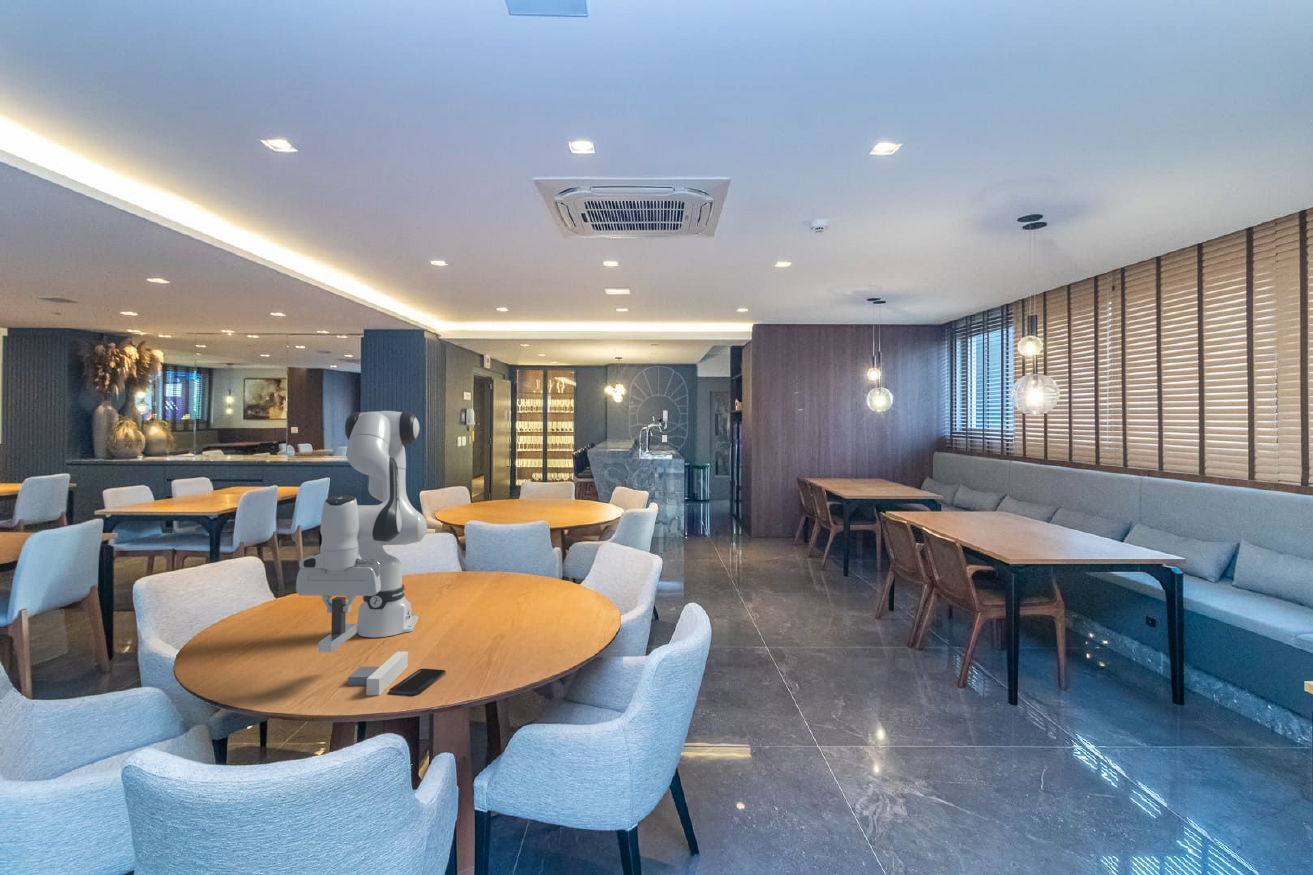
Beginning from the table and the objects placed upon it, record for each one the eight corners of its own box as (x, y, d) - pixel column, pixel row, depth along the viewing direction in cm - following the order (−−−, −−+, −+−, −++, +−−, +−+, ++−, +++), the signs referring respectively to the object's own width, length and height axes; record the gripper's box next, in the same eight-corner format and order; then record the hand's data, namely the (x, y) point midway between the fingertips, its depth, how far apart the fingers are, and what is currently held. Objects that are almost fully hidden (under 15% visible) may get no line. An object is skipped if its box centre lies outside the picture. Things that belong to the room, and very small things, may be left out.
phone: (387, 690, 147) (420, 667, 162) (387, 695, 147) (420, 672, 162) (416, 693, 146) (447, 670, 160) (416, 697, 146) (447, 674, 160)
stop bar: (396, 666, 165) (396, 651, 165) (407, 666, 165) (407, 651, 165) (366, 695, 146) (366, 678, 146) (378, 695, 146) (379, 678, 146)
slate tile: (360, 676, 158) (360, 666, 158) (387, 675, 159) (387, 666, 159) (347, 686, 151) (348, 677, 151) (376, 686, 152) (376, 676, 152)
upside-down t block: (345, 633, 162) (345, 590, 162) (356, 633, 162) (357, 590, 162) (318, 652, 148) (319, 605, 148) (330, 652, 148) (331, 605, 148)
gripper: (385, 556, 159) (384, 608, 159) (306, 556, 158) (305, 608, 158) (375, 561, 152) (374, 615, 152) (292, 561, 151) (292, 615, 151)
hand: (338, 611), depth 155 cm, fingers closed on upside-down t block, 2 cm apart
